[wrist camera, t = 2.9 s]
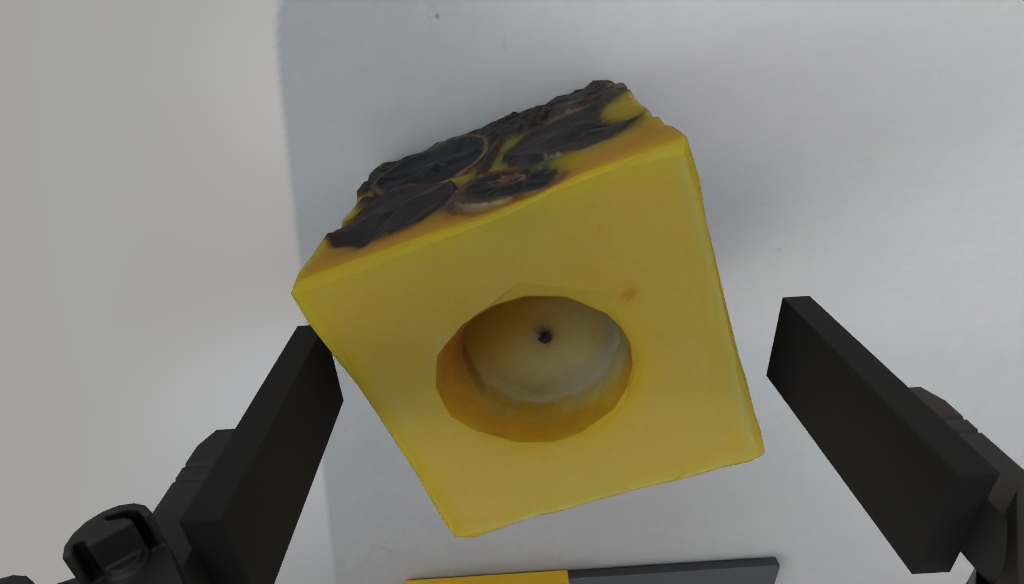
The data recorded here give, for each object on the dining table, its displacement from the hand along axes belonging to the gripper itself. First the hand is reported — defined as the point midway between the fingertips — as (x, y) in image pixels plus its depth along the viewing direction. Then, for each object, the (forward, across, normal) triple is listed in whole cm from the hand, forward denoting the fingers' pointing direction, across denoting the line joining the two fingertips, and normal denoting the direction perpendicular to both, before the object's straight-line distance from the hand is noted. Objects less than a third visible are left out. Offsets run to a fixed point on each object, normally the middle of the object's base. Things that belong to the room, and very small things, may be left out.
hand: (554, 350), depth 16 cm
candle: (+8, 0, 0) cm, 8 cm away
